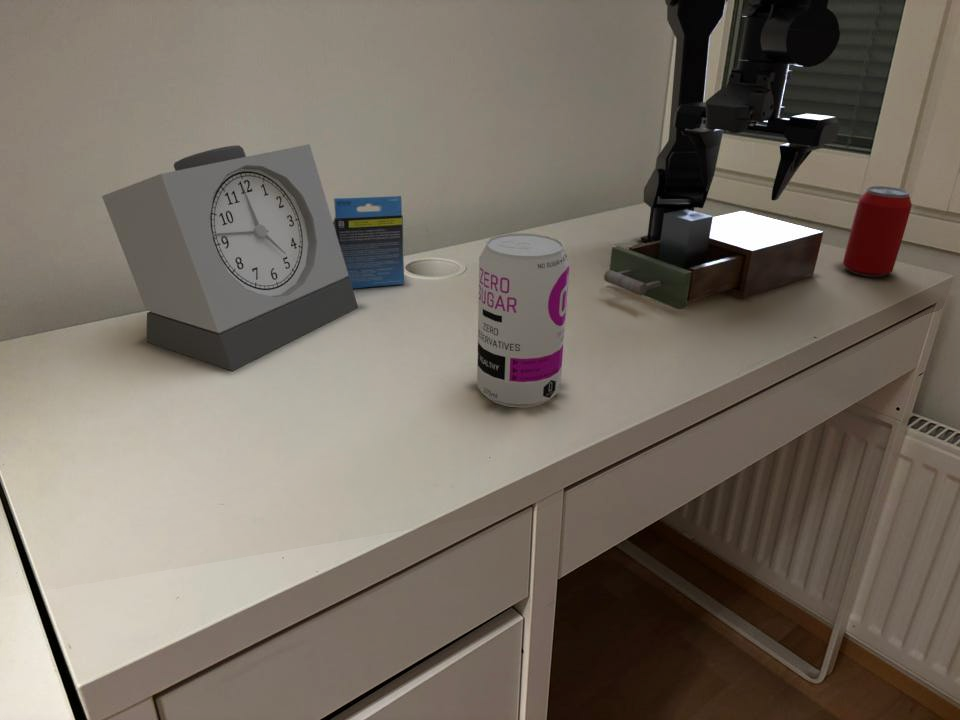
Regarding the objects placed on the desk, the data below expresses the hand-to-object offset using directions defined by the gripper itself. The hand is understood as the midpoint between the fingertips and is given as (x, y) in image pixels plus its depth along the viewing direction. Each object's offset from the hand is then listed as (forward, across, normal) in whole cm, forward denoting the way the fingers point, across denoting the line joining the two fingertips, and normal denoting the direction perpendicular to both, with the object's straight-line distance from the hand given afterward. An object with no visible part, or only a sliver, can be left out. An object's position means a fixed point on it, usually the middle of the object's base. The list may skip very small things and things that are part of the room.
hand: (739, 193), depth 90 cm
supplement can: (+14, 0, -41) cm, 43 cm away
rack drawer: (+12, -4, -6) cm, 14 cm away
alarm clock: (+14, -33, -52) cm, 63 cm away
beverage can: (+14, +10, +24) cm, 30 cm away
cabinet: (+14, -2, +9) cm, 16 cm away
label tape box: (+14, -34, -34) cm, 50 cm away
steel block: (+11, -4, -4) cm, 13 cm away
